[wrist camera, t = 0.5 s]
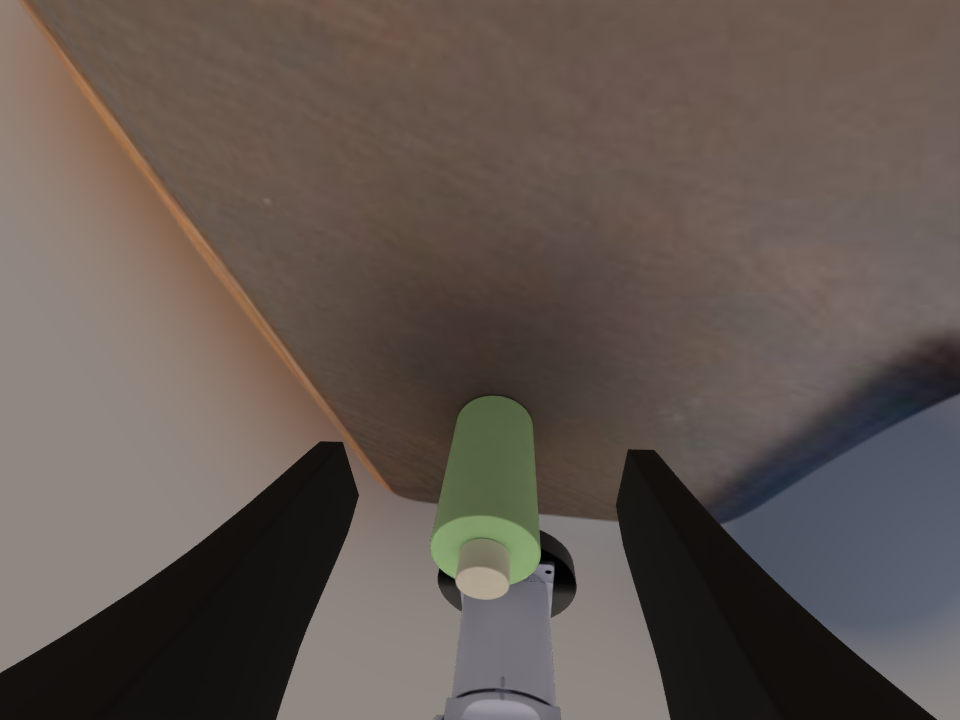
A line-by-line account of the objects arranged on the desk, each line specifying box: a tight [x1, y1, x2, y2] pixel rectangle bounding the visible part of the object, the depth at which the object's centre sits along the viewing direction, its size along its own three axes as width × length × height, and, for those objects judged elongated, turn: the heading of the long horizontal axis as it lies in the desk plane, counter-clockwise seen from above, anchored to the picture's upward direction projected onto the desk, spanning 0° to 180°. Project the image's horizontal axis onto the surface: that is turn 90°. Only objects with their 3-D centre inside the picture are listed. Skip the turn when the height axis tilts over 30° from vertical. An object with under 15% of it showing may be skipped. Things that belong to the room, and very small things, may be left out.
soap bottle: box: [430, 396, 541, 600], centre depth 18 cm, size 4×4×9 cm
